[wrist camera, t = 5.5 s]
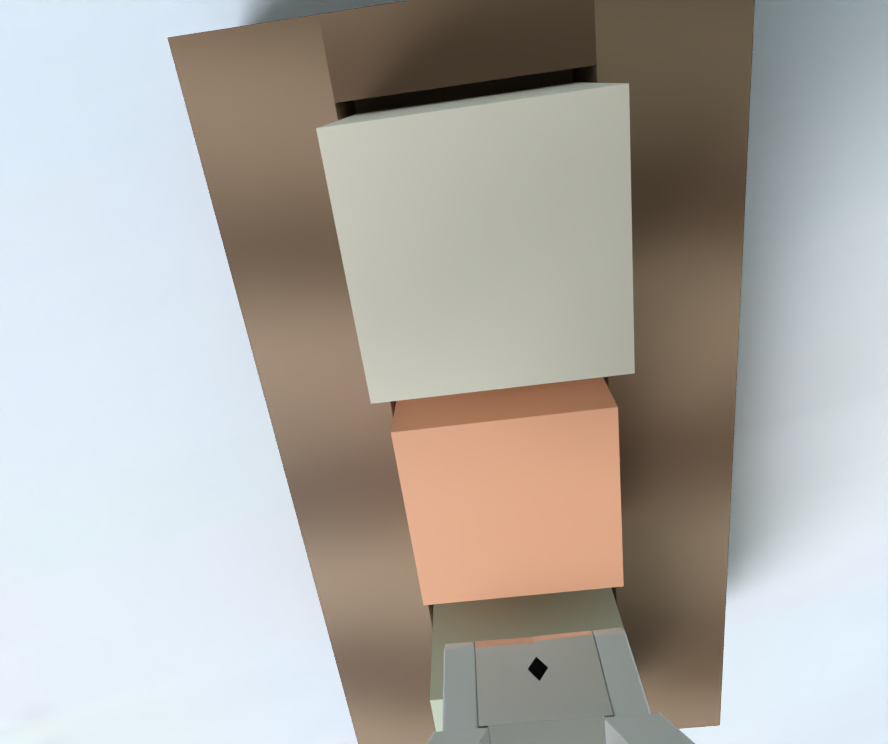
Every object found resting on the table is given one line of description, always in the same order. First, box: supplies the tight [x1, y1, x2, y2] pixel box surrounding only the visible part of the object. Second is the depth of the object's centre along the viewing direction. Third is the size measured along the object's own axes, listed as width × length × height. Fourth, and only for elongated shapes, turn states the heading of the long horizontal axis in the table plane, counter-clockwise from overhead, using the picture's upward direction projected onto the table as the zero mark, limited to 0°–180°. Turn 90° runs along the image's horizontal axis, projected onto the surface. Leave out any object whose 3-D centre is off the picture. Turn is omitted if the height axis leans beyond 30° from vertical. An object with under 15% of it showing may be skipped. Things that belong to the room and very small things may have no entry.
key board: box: [168, 0, 755, 744], centre depth 20 cm, size 22×12×4 cm, turn 8°
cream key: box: [316, 82, 635, 404], centre depth 14 cm, size 5×5×5 cm
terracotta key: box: [391, 377, 624, 605], centre depth 18 cm, size 5×5×5 cm
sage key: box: [430, 588, 625, 732], centre depth 19 cm, size 5×5×5 cm
